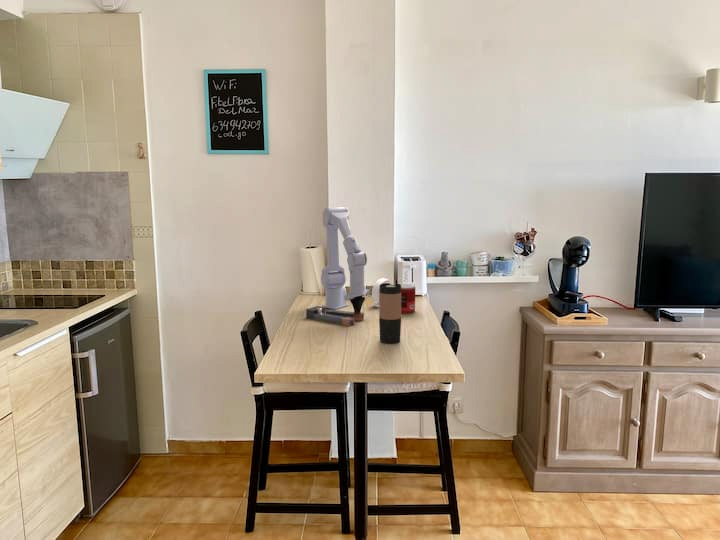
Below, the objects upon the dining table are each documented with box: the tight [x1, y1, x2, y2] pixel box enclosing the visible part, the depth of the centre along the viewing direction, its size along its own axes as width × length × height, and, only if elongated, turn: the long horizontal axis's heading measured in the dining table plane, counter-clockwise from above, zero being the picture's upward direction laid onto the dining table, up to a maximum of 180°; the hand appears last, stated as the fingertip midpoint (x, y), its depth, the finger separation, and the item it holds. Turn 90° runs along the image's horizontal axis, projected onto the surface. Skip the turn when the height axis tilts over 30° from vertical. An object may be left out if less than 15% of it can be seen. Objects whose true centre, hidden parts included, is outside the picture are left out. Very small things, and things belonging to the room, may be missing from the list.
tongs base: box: [305, 305, 355, 327], centre depth 223 cm, size 22×7×4 cm, turn 54°
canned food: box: [400, 283, 416, 314], centre depth 237 cm, size 8×8×11 cm
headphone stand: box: [371, 277, 390, 308], centre depth 246 cm, size 5×6×12 cm
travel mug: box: [378, 282, 402, 345], centre depth 194 cm, size 8×8×20 cm
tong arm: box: [325, 309, 365, 322], centre depth 226 cm, size 16×3×3 cm, turn 69°
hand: (357, 314), depth 227 cm, fingers closed
